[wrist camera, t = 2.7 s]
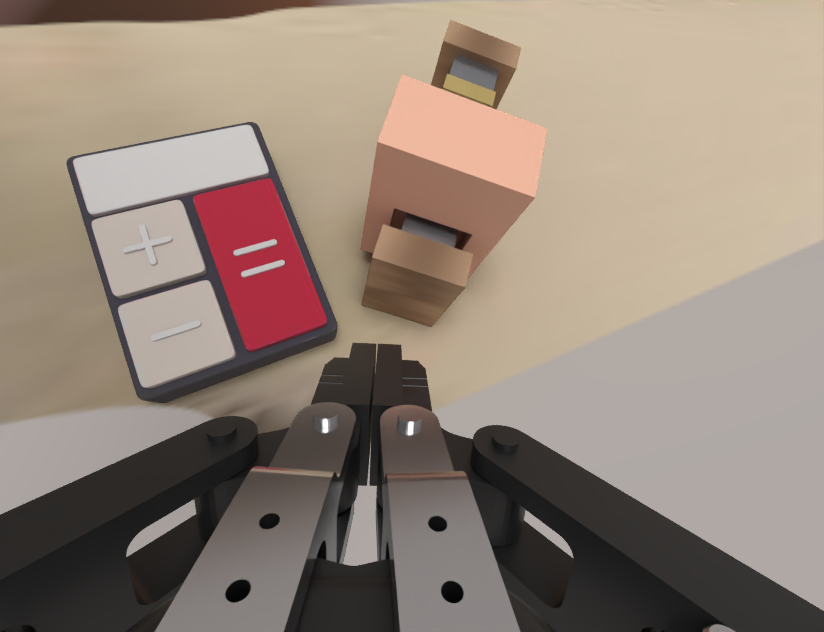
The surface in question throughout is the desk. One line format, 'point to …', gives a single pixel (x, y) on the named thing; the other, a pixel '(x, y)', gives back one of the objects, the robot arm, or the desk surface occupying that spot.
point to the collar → (452, 167)
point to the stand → (419, 257)
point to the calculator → (199, 258)
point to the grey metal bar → (475, 86)
